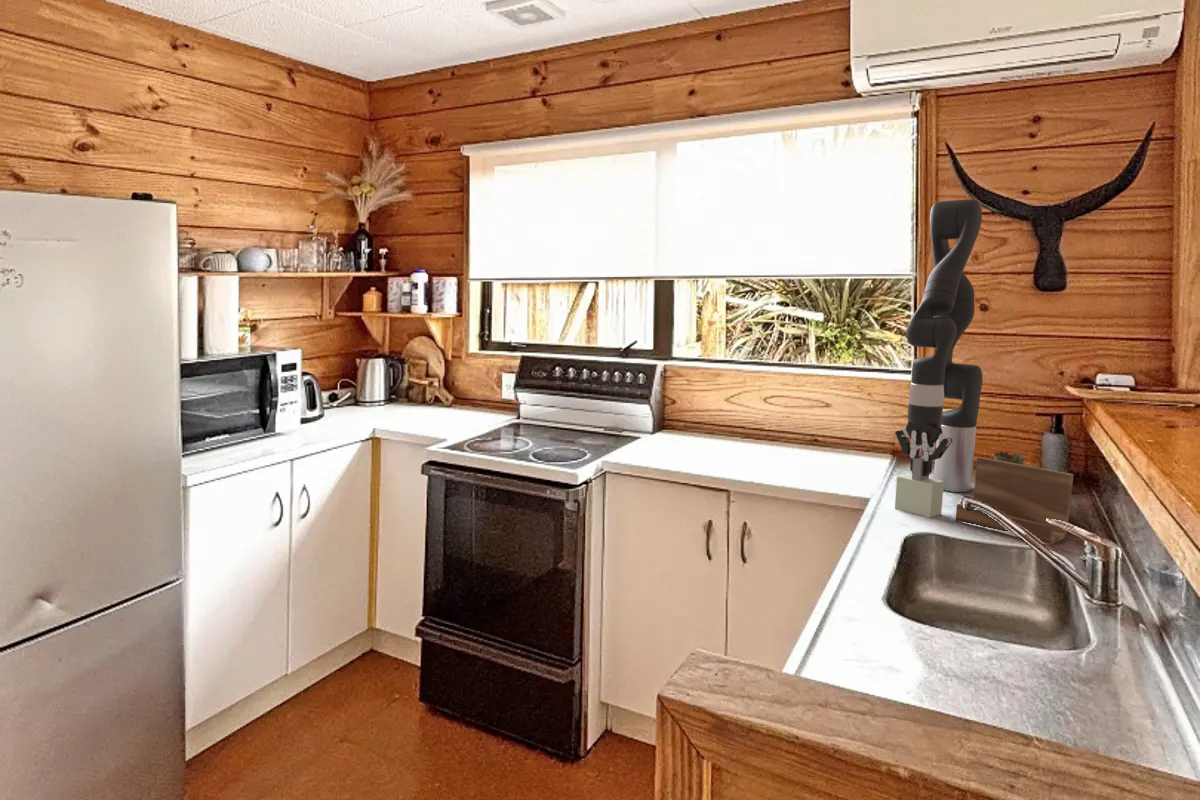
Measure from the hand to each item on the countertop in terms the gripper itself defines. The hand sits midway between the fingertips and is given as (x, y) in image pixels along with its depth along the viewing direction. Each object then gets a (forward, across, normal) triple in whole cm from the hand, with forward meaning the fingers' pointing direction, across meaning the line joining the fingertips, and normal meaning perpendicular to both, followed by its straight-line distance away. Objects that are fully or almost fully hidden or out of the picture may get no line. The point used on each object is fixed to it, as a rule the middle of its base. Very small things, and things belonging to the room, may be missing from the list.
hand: (920, 474), depth 182 cm
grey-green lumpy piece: (+9, 0, -45) cm, 46 cm away
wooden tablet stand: (+9, -20, -4) cm, 22 cm away
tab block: (+9, 0, 0) cm, 9 cm away
